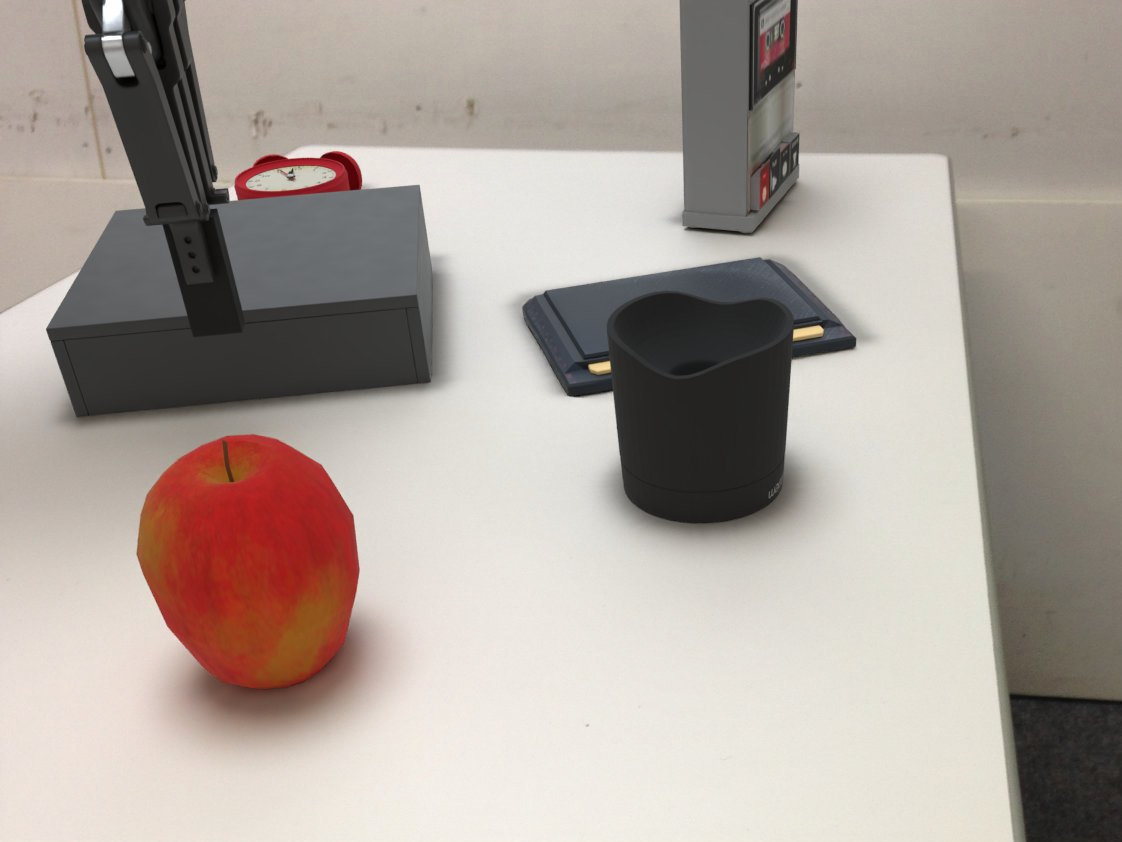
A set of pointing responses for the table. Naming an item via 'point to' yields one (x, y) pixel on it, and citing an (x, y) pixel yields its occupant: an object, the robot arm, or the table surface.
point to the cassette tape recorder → (737, 110)
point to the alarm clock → (298, 176)
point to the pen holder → (701, 403)
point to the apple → (251, 560)
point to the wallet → (583, 311)
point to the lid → (255, 306)
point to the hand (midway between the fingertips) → (219, 329)
